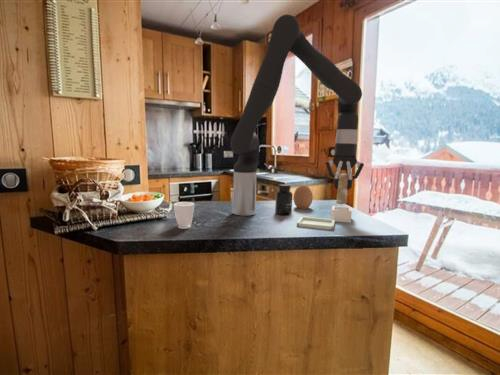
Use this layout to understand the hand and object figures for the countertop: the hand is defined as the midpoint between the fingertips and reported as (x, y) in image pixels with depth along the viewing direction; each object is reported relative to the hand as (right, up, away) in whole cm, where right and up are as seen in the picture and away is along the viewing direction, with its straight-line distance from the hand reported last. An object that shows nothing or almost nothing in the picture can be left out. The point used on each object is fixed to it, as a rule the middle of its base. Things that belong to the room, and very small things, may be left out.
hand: (342, 189), depth 109 cm
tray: (-11, -13, -6) cm, 18 cm away
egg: (-11, -9, +21) cm, 25 cm away
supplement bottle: (-21, -11, +13) cm, 26 cm away
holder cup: (0, -12, +2) cm, 12 cm away
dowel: (0, -5, +1) cm, 5 cm away
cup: (-57, -13, -8) cm, 59 cm away
